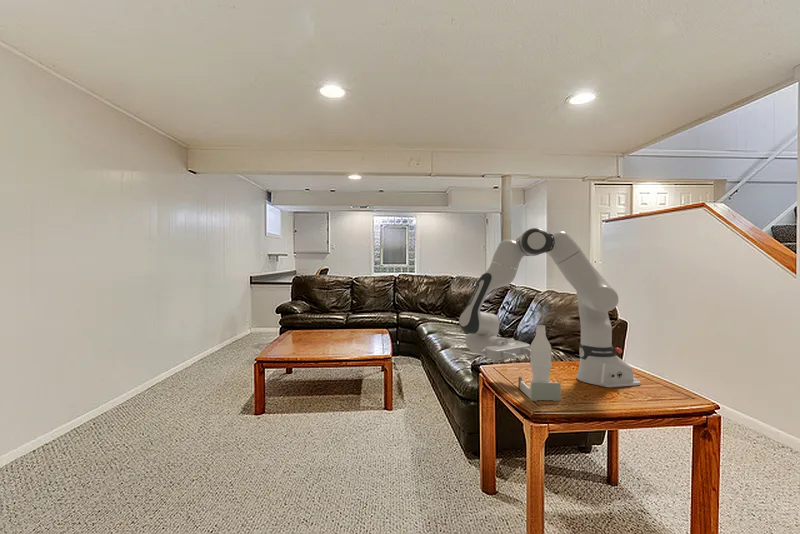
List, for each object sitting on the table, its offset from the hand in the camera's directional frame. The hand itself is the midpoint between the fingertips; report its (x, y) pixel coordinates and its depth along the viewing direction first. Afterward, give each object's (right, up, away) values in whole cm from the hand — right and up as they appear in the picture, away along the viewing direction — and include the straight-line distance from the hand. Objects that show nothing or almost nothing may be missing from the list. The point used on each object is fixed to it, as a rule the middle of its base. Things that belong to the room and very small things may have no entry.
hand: (523, 355), depth 138 cm
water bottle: (+4, -13, -7) cm, 15 cm away
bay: (+4, -13, -4) cm, 14 cm away
